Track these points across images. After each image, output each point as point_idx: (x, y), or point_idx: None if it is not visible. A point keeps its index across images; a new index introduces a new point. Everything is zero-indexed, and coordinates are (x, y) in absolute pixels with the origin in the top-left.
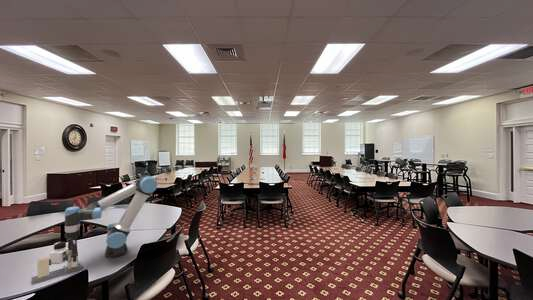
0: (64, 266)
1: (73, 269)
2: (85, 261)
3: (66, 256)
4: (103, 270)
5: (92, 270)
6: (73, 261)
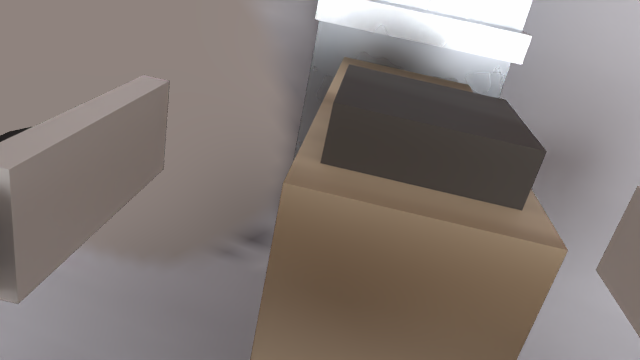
0: (496, 46)
1: (302, 119)
2: (537, 347)
3: (332, 110)
4: (20, 320)
5: (127, 261)
6: (8, 133)
